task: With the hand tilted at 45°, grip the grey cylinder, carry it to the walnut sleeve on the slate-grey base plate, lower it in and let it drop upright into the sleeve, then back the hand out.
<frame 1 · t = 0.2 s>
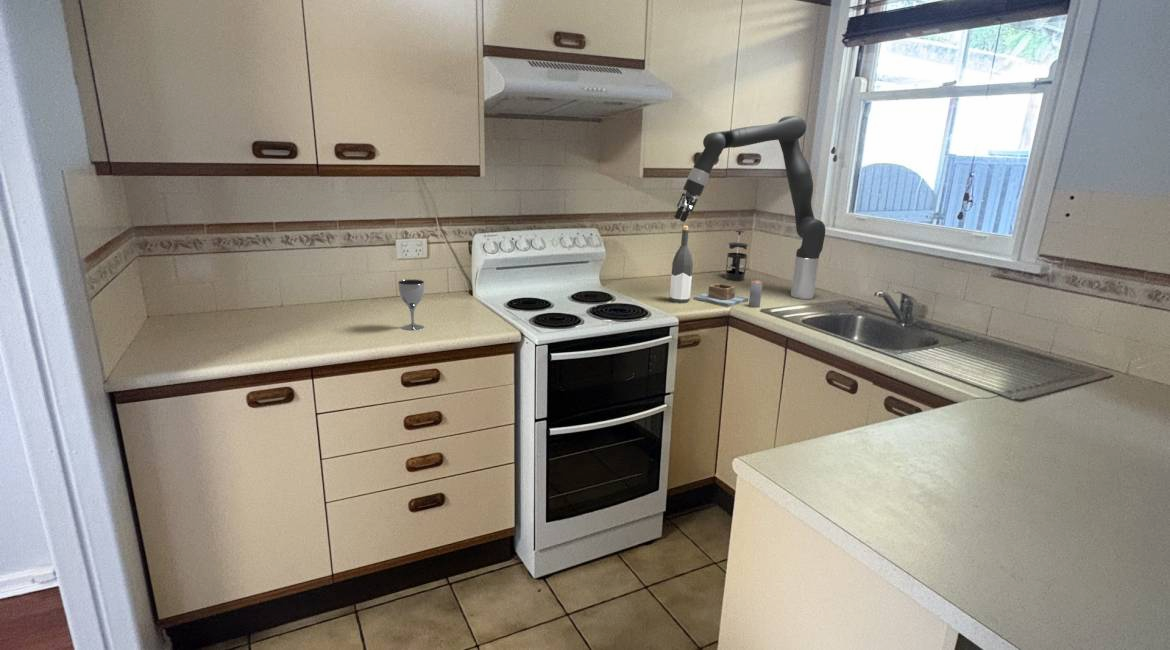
hand: (679, 219, 253), 31 cm above the worktop, tool tilted 20°, fingers open, 8 cm apart
grey cylinder: (754, 306, 250), on the worktop
wine glass: (412, 327, 204), on the worktop
wine bottle: (679, 301, 254), on the worktop
french press: (734, 279, 300), on the worktop
socket: (720, 300, 258), on the worktop
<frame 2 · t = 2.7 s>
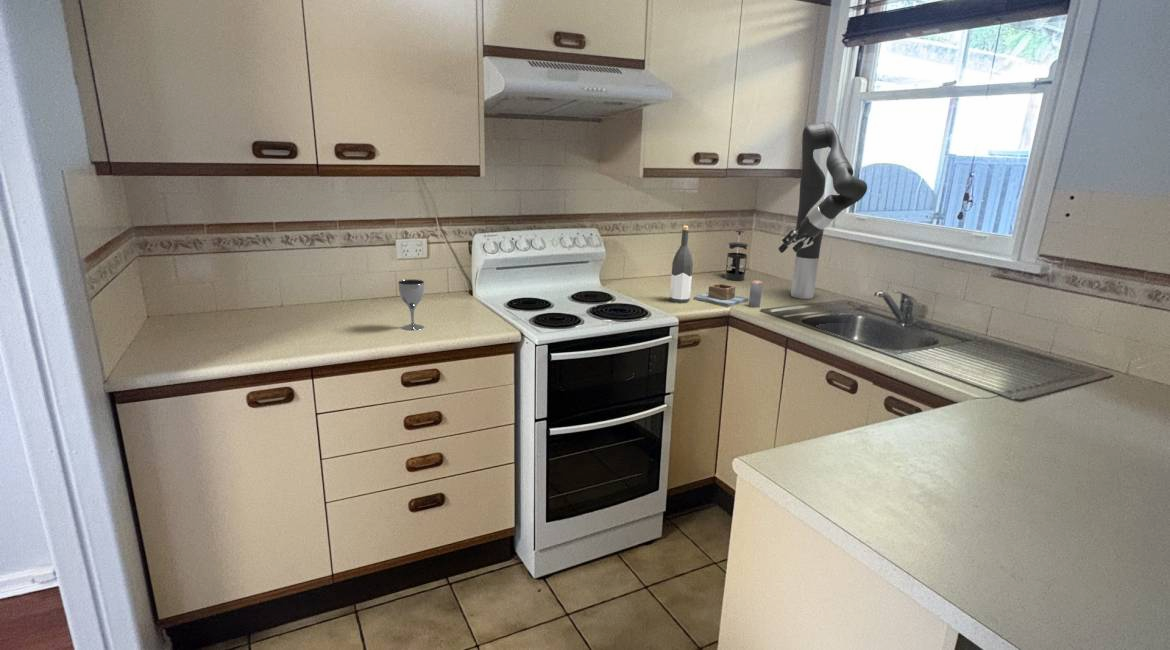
hand: (787, 250, 235), 24 cm above the worktop, tool tilted 40°, fingers open, 8 cm apart
nothing on the worktop moved.
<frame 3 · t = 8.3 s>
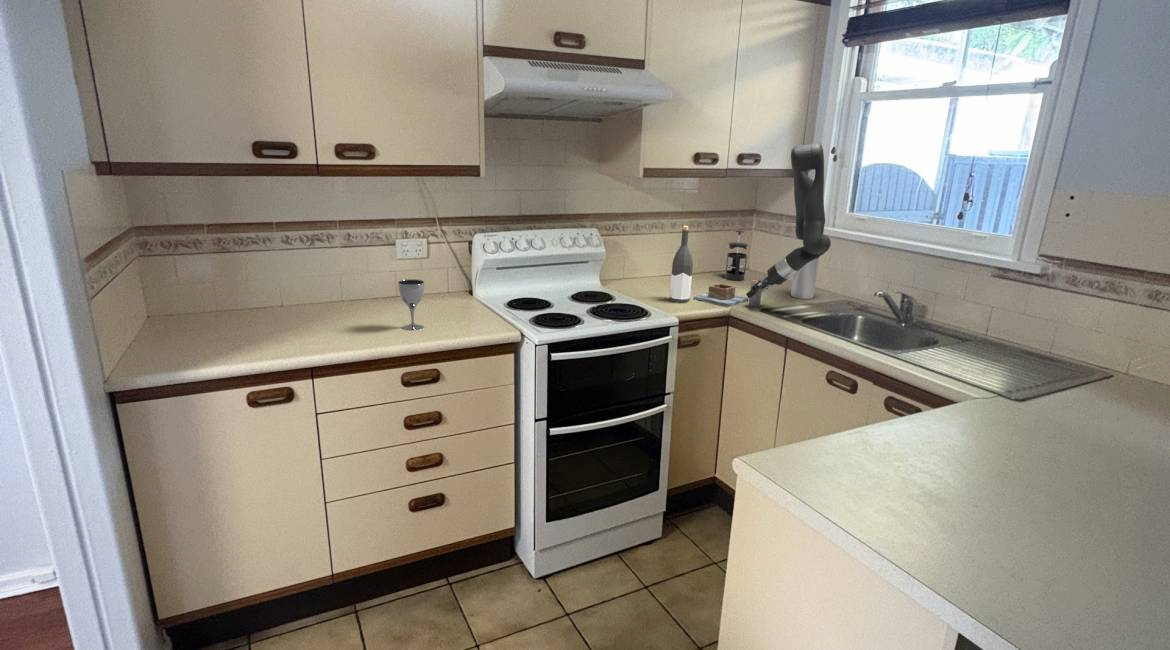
hand: (750, 295, 250), 4 cm above the worktop, tool tilted 45°, fingers closed on grey cylinder, 4 cm apart
grey cylinder: (754, 306, 250), on the worktop, touching gripper
everything else where it was.
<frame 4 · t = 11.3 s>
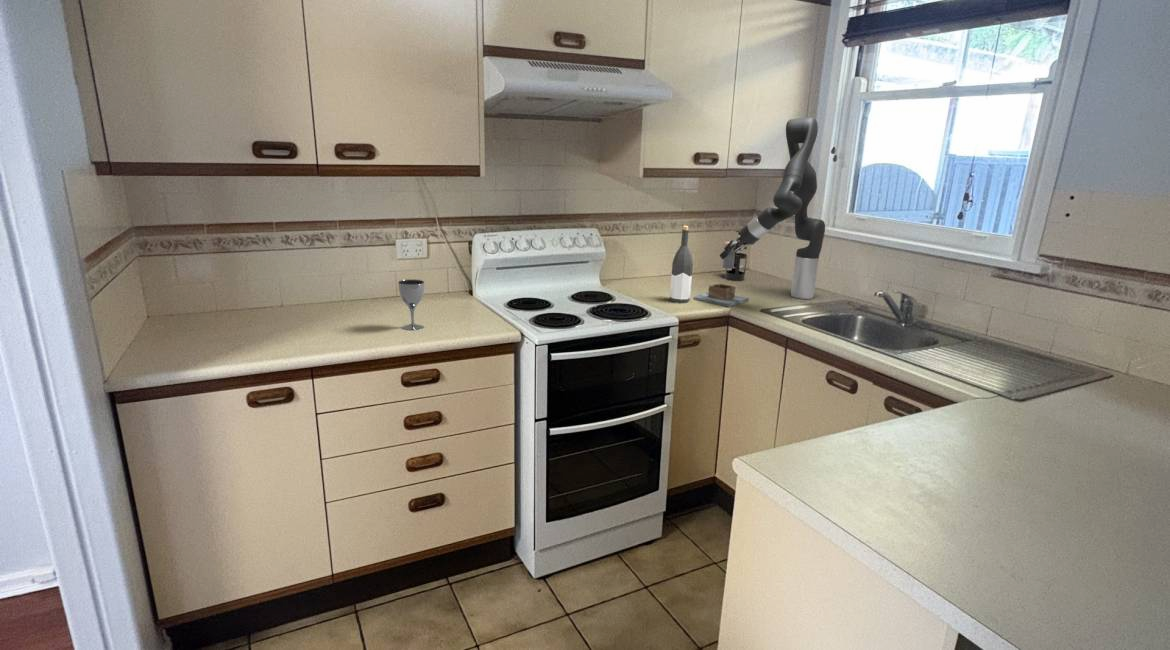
hand: (724, 256, 253), 18 cm above the worktop, tool tilted 45°, fingers closed on grey cylinder, 4 cm apart
grey cylinder: (727, 267, 253), point 14 cm above the worktop, touching gripper
everything else where it was.
when the fingers open (8 cm above the worktop, at t = 14.4 s): grey cylinder drops 2 cm, resting on socket.
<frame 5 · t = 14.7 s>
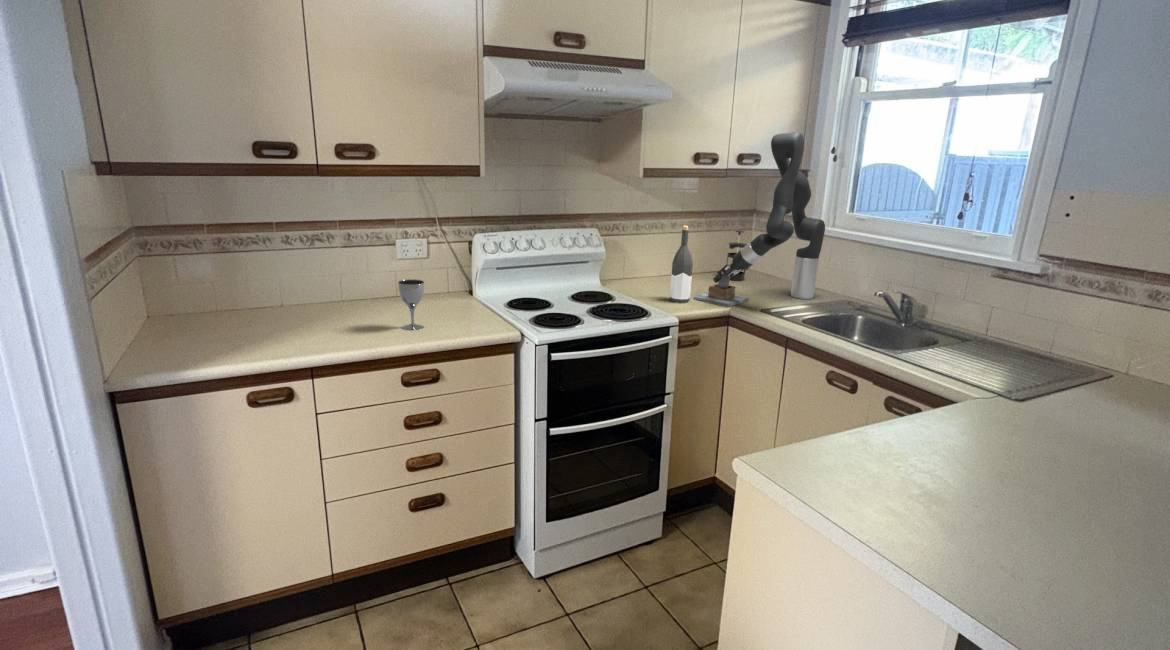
hand: (719, 279, 256), 8 cm above the worktop, tool tilted 45°, fingers open, 7 cm apart
grey cylinder: (721, 297, 257), point 1 cm above the worktop, touching socket
everything else where it was.
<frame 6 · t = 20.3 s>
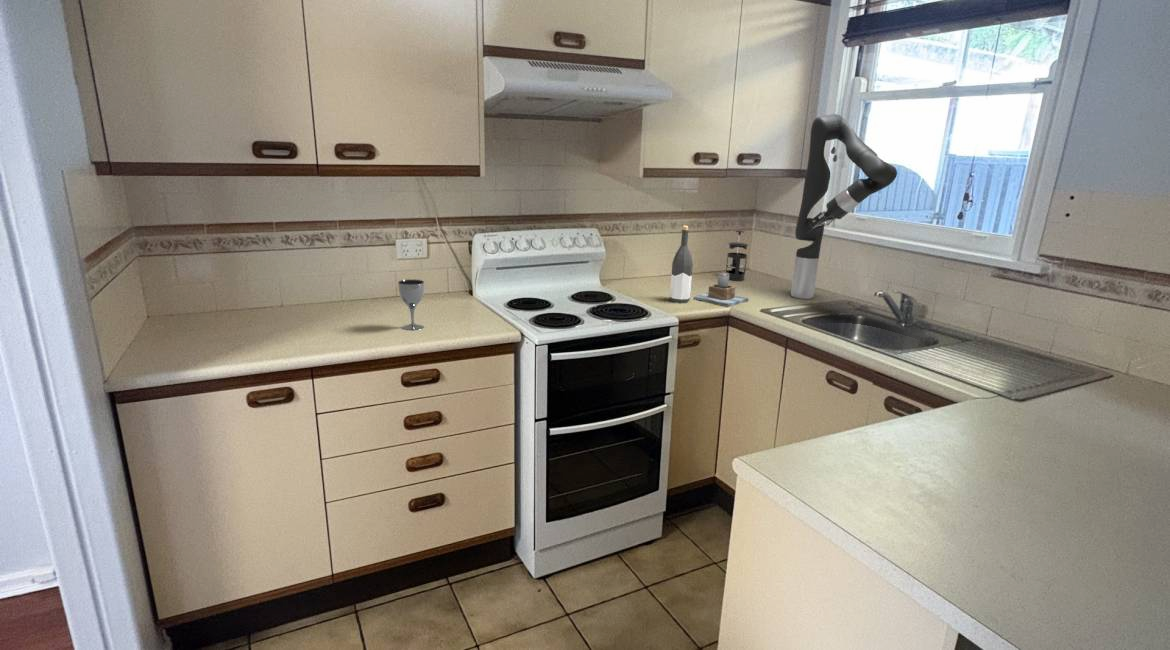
hand: (808, 231, 240), 31 cm above the worktop, tool tilted 45°, fingers open, 8 cm apart
nothing on the worktop moved.
at the end: grey cylinder 0.1 cm off-centre on the socket, point 1.2 cm above the socket's base; grey cylinder tilted 0°; the gripper is holding nothing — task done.
